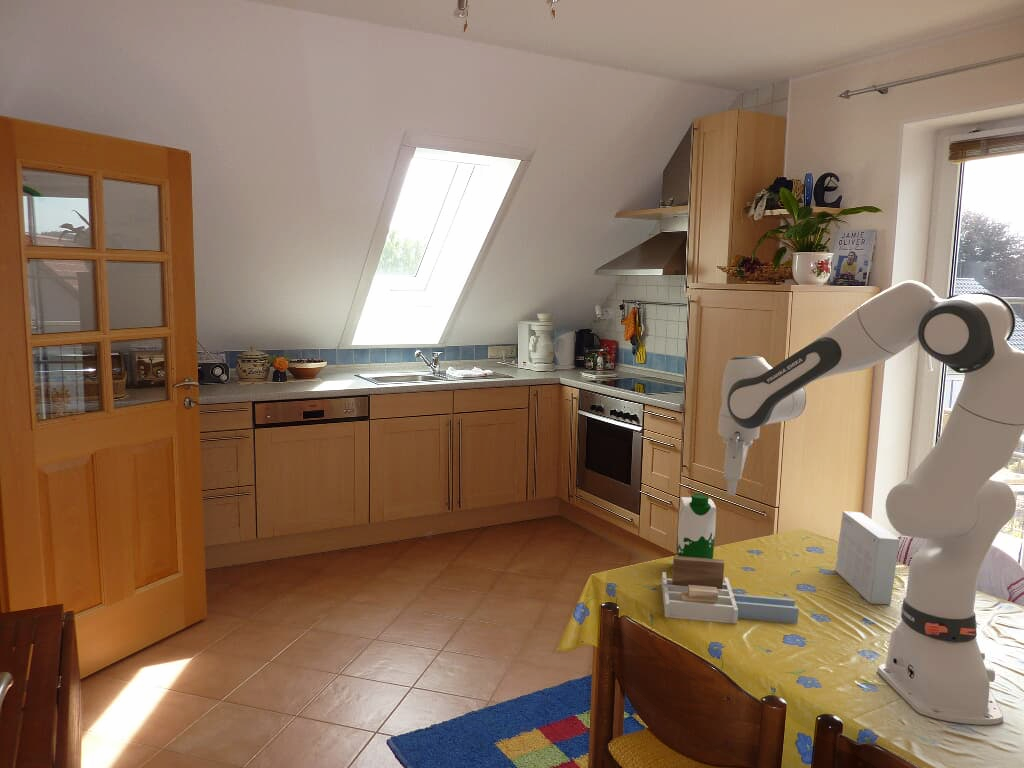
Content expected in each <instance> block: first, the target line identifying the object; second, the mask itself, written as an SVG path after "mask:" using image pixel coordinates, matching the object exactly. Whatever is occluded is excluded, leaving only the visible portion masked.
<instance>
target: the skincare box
mask: <svg viewBox="0 0 1024 768" xmlns="http://www.w3.org/2000/svg"><path fill="white" fill-rule="evenodd" d="M841 515H842V516H841V521H840V522H841V523H840V531H839V536H838V538H839V539H838V543H837V544H838V545H837V552H836V558H835V559H836V560H835V567H834V571H835V572H837V574H839V576H841V578H843V579H844V581H845V582H847V583H848V584H849V585H850V586H851V587H852V588H853V589H854V590H855V591H857V593H858V594H859V595H861V596H862V597H863V599H865V600H866V601H867V602H868V603H869V604H876V605H891V604H892V596H893V589H894V581H895V574H896V569H897V568H896V567H897V561H898V560H897V559H898V554H899V553H898V552H899V546H900V538H899V537H897V536H895V535H894V534H893V533H891V532H890V531H889V530H887V529H885V528H884V526H881V524H878V523H877V522H876V521H875V520H873V519H871V517H869V516H867V515H866V514H864V513H863V512H859V511H845V510H842V514H841Z"/></svg>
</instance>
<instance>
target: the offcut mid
mask: <svg viewBox="0 0 1024 768" xmlns="http://www.w3.org/2000/svg"><path fill="white" fill-rule="evenodd" d="M681 601H686V602H697V603H708V604H715V600H704V599H693V598H689V595H688V593H687V592H681Z"/></svg>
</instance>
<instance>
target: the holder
mask: <svg viewBox="0 0 1024 768" xmlns="http://www.w3.org/2000/svg"><path fill="white" fill-rule="evenodd" d="M733 595H734V599H735V602H736V605H737V608H738V619H746V620H757V621H768V622H770V621H771V622H778V623H779V622H780V623H788V624H789V623H793V624H799V621H798V620H799V612H800V611H799V610H800V608H799V607H798V606H796V605H795V603H796V601H795V599H793V598H783V597H782V598H781V597H772V596H771V597H769V596H760V595H747V594H736V593H733Z"/></svg>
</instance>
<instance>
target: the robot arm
mask: <svg viewBox="0 0 1024 768" xmlns="http://www.w3.org/2000/svg"><path fill="white" fill-rule="evenodd" d="M1016 326H1017V316H1016V313H1015V310H1014V308H1013V306H1012V305H1011V304H1010V303H1009V302H1008V301H1007V300H1006V299H1004V298H1003V297H1001V296H999V295H997V294H993V293H988V292H972V293H965V294H964V293H963V294H956V295H955V294H954V295H953V294H952V295H950V296H948V297H946V299H944V298H940V297H939V296H938V295H937V294H936V293H935V292H934V291H933V290H932V289H931V288H930V287H929V286H928V285H926V284H924V283H922V282H921V281H916V280H905V281H902V282H899V283H897V284H895V285H894V286H891V287H889V288H887V289H885V290H883V291H882V292H879V293H878V294H876V295H874V296H873V297H871V298H870V299H868V300H867V301H865V302H864V303H863V304H861V305H860V306H858V307H857V308H856V309H854V310H853V311H851V312H850V313H849V314H847V315H846V316H845V317H844V318H842V319H841V320H840V321H839V322H837V323H836V324H835V325H833V326H832V327H831V328H830V329H828V330H827V331H825V332H824V333H823V334H821V335H820V336H819V337H817V338H816V339H814V340H813V341H812V342H811V343H809V344H807V345H806V346H805V347H803V348H801V349H800V350H798V351H797V352H795V353H794V354H792V355H791V356H789V357H787V358H785V360H783V361H781V362H780V363H778V364H776V365H775V366H773V367H772V366H771V365H770V364H768V362H767V361H766V359H765V358H764V357H762V356H760V355H744V356H735V357H732V358H730V359H729V360H728V361H727V362H726V364H725V368H724V371H723V376H722V384H721V391H720V392H721V407H720V409H719V414H718V415H719V416H718V423H717V424H718V425H717V434H718V435H719V436H721V437H722V442H723V443H724V444H726V448H725V455H724V464H723V478H725V479H727V491H726V493H727V495H728V496H736V492H737V486H738V484H739V482H740V480H741V479H742V475H743V470H744V467H745V462H746V459H747V455H748V452H749V451H748V450H749V447H750V446H753V440H758V439H759V438H760V432H761V431H760V430H761V427H762V426H766V425H771V424H777V423H782V422H786V421H787V422H788V421H791V420H792V419H796V418H798V417H799V416H800V415H802V413H803V412H804V410H805V407H806V404H807V394H806V391H805V390H806V389H805V387H806V386H808V385H810V384H811V383H814V382H816V381H818V380H822V379H824V378H827V377H831V376H836V375H841V374H846V373H851V372H859V371H862V370H867V369H869V368H872V367H875V366H877V365H879V364H881V363H883V362H886V361H887V360H890V359H891V358H893V357H895V356H896V355H898V354H899V353H901V352H902V351H903V350H905V349H907V348H908V347H909V346H911V345H913V344H915V343H917V342H919V344H920V346H921V347H922V349H923V350H924V352H926V353H927V354H928V355H929V356H930V357H932V358H934V359H935V360H937V361H939V362H941V363H942V364H944V365H945V366H947V367H948V368H950V369H951V370H953V371H954V372H956V373H958V374H964V376H963V377H964V378H963V383H962V385H961V388H960V391H959V392H958V395H957V397H956V399H955V402H954V405H953V407H952V410H951V412H950V414H949V416H948V419H947V421H946V423H945V425H944V428H943V430H942V433H941V435H940V436H939V438H938V439H937V442H936V443H935V444H934V446H933V447H932V449H931V450H930V451H929V452H928V454H926V456H925V457H924V459H923V460H922V461H921V462H920V464H918V465H917V467H916V469H915V470H913V471H912V473H911V474H910V475H909V476H908V477H906V478H905V479H904V480H903V481H901V482H899V483H898V484H896V485H895V486H893V487H892V488H891V489H890V490H889V492H888V493H887V495H886V499H885V514H886V517H887V519H888V522H889V524H890V525H891V526H892V527H893V529H895V531H896V532H898V533H899V534H901V535H903V536H904V537H909V538H915V539H921V540H926V541H925V542H924V544H923V545H922V547H920V548H919V550H918V551H916V553H915V554H914V555H913V556H912V557H911V559H910V562H909V567H908V576H907V586H906V593H905V597H904V598H903V601H902V604H901V609H900V610H901V613H900V617H901V621H900V622H899V624H898V625H897V626H896V627H895V628H894V629H893V630H892V631H891V633H890V639H889V645H888V650H887V653H886V654H887V656H886V661H885V663H881V664H879V665H878V666H877V673H878V674H879V676H880V677H882V679H884V681H886V682H887V684H888V685H890V686H891V687H892V688H893V690H894V691H896V692H897V693H898V695H900V697H901V698H903V700H905V702H906V703H907V704H909V705H910V706H911V708H913V710H915V711H916V713H918V714H921V715H923V716H925V717H929V718H933V719H936V720H940V721H944V722H945V721H946V722H951V723H957V724H967V725H978V726H980V725H981V726H983V725H984V726H987V725H988V726H989V725H998V724H1001V723H1003V722H1004V716H1003V713H1002V711H1001V709H1000V707H999V704H998V703H997V700H996V698H995V696H994V694H993V692H992V690H991V688H990V685H991V684H990V683H993V682H995V681H996V680H995V679H996V672H995V669H994V668H991V667H986V665H985V662H984V661H985V659H986V654H985V653H986V652H984V651H981V649H980V646H979V643H978V640H977V638H976V637H977V627H978V626H977V625H978V624H977V619H976V618H977V617H976V613H975V605H976V604H975V602H976V596H977V589H978V584H979V583H978V581H979V577H980V573H981V570H982V567H983V564H984V561H985V560H986V557H987V556H988V553H989V552H990V549H991V547H992V545H993V542H994V540H995V539H996V537H997V536H998V535H999V532H1000V531H1001V530H1002V529H1003V528H1004V526H1005V525H1006V524H1008V523H1009V522H1010V521H1011V520H1012V519H1013V517H1014V515H1015V512H1016V509H1017V507H1016V506H1017V502H1016V497H1015V494H1014V492H1013V490H1012V488H1011V487H1010V486H1009V484H1008V483H1006V481H1004V480H1003V479H1001V478H999V477H997V476H994V475H995V474H997V472H999V471H1000V470H1001V471H1002V469H1003V468H1004V467H1006V466H1007V465H1008V464H1009V462H1010V461H1011V460H1012V457H1013V455H1014V452H1015V451H1016V448H1017V446H1018V444H1019V442H1020V440H1021V437H1022V434H1023V432H1024V351H1023V350H1021V349H1018V348H1015V347H1014V346H1013V345H1011V344H1010V343H1009V340H1010V339H1011V338H1012V336H1013V334H1014V332H1015V329H1016Z"/></svg>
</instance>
